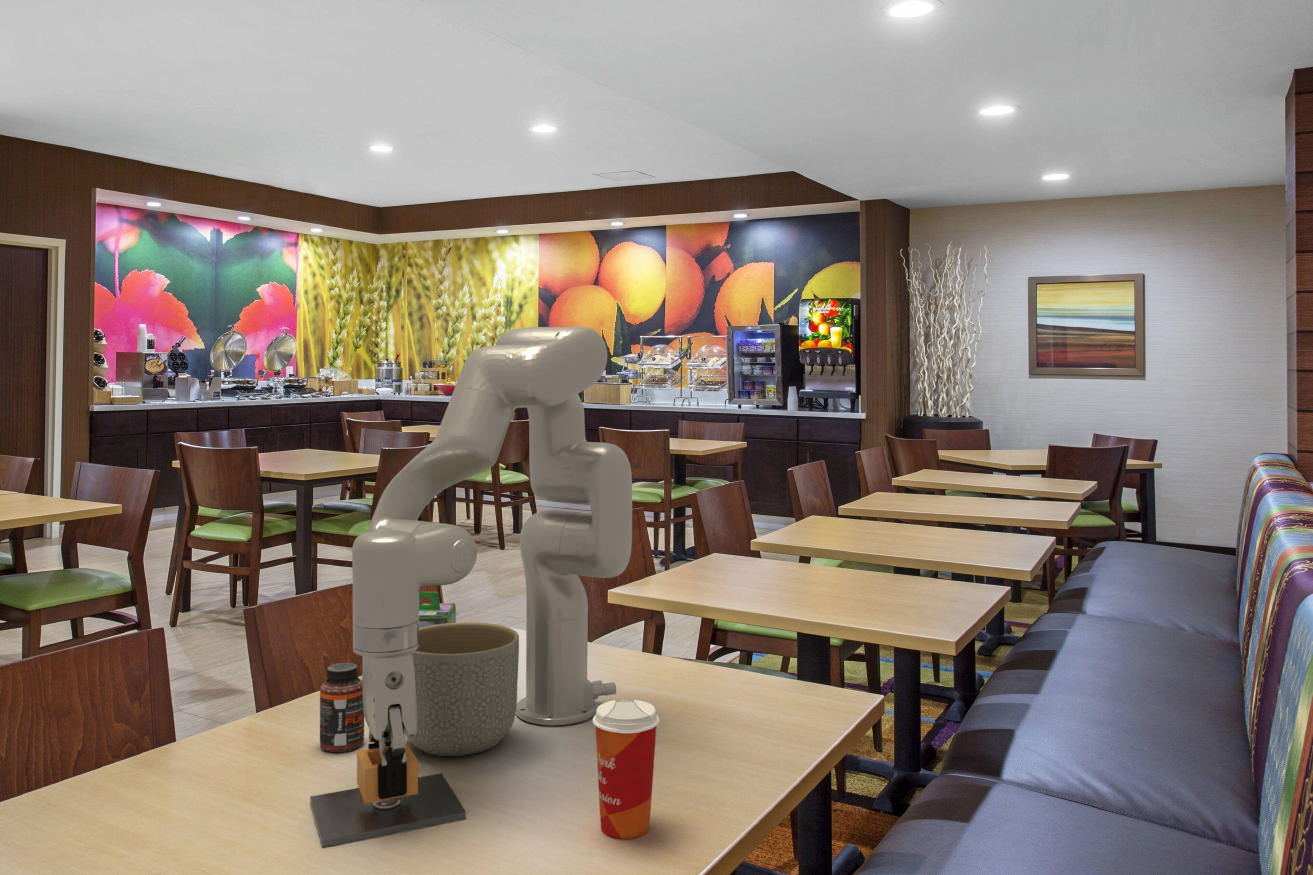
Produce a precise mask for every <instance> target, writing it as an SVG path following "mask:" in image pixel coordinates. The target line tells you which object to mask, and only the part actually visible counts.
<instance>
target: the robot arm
mask: <svg viewBox="0 0 1313 875" xmlns="http://www.w3.org/2000/svg"><path fill="white" fill-rule="evenodd" d="M607 363H608V349H607V345H606V343H605V340H604V338H603V337H602V336H601V335H600V333H599V332H598V331H596V330H595V329H593V328H590V327H586V326H557V327H556V326H537V327H536V326H535V327H534V326H532V327H519V328H514V329H510V330H507V331H504V333H502V334H501V335H500V336H499V337H498V339H497V340H496V343H495V345H486V346H482V347H479V348H476V349H474V350H473V351H472V352H471V353H469V355H467V358H466V359H465V361H464V364H463V366H462V369H461V371H460V372H459V376H458V378H457V381H456V384H455V386H454V389H453V391H452V394H451V396H450V399H449V401H448V405H447V407H446V410H445V412H444V415H443V417H442V419H441V422H440V424H439V425H440V426H439V428H438V431H437V433H436V435H435V438H434V439H433V441H432V442H431V443H430V444H429V445H428V446H426V447H425V448H424V449H423V450H421V451H420V452H419V453H417V455H415V457H413V458H412V459H411V460H410V461H409V462H408V463H407V464H406V465H405V466H403V468H402V469H401V470H400V471H399V472H398V473H397V474H396V475H395V476H394V477H393V478H392V479H391V481H390V482H389V483H388V484H387V486H386V487H385V489H384V490H383V491H382V494H381V497H380V498H379V500H378V503H377V505H376V508H375V511H374V512H373V515H372V517H371V521H370V524H369V526H368V530H367V532H364V533H362V534H360V535H358V536H357V537H356V538H355V539H354V541H353V544H352V552H351V553H352V554H351V557H352V559H351V560H352V568H351V569H352V651H353V653H354V654H356V655H359V656H362V659H361V660H362V665H361V666H362V669H361V672H362V674H361V675H362V676H361V678H362V679H361V680H362V692H363V711H364V721H365V722H366V726H367V727H368V742H369V743H368V745H367V749H374V748H380V762H381V764H378V797H379V798H380V799H386V798H392V797H397V796H402V795H405V794H406V793H407V761H406V748H405V743H406V735H405V734H404V728H405V730H406V732H407V733H408V735H411V736H415V735H416V734H417V732H418V723H417V701H416V681H415V669H414V660H413V654H412V652H413V651H415V650H417V649H418V647H419V592H420V589H421V588H423V587H435V586H447V585H452V584H456V583H457V582H459V581H461V580H463V579H464V578H465V577H467V576H468V575H469V574H470V572H472V570H473V568H474V566H475V564H476V563H477V562H476V561H477V556H478V548H477V543H476V541H475V539H474V537H473V536H472V535H471V533H469V532H468V530H466V529H464V528H462V527H460V526H458V525H455V524H449V523H441V522H440V523H439V522H433V521H424V520H419V517H420V516H421V514H422V512H423V510H424V509H425V508H426V506H427V505H428V504H429V503H430V502H431V501H432V500H433V498H435V497H436V496H437V495H439V494H440V493H442V492H443V491H444V490H445V489H448V488H450V487H452V486H454V485H456V484H458V483H461V482H463V481H466V480H467V479H469V478H472V477H474V476H476V475H479V474H480V473H483V472H486V471H487V470H489V469H491V468H492V467H493V466H495V464H496V462H497V461H498V458H499V455H500V452H501V449H502V446H503V443H504V441H505V438H506V435H507V431H508V429H509V426H510V423H511V420H512V418H513V415H514V412H515V410H517V409H518V408H520V409H521V408H526V409H527V413H528V427H529V430H528V433H529V439H528V441H529V444H528V445H529V448H528V449H529V450H528V452H529V454H528V455H529V480H530V482H529V483H530V487H531V490H532V492H533V493H534V495H535V497H537V498H539V499H541V500H543V501H545V502H546V501H547V502H552V503H562V504H570V505H571V504H574V505H585V506H586V505H587V506H589V507H590V512H581V511H572V510H559V509H558V510H557V509H556V510H555V509H550V510H542V511H538V512H536V513H534V514H532V515H531V516H529V517H528V518H527V519H526V520H525V521H524V523H523V525H522V527H521V530H520V535H519V550H520V556H521V561H522V564H523V570H524V579H525V580H524V581H525V593H526V594H525V598H526V601H525V602H526V605H525V606H526V607H525V608H526V619H525V620H526V624H525V625H526V626H525V628H526V629H525V630H526V633H525V635H526V638H525V639H526V642H525V643H526V645H525V646H526V648H525V650H526V652H525V654H526V656H525V658H526V660H525V661H526V662H525V664H526V665H525V666H526V668H525V671H526V672H525V677H526V678H525V679H526V680H525V688H526V689H525V697H523V698H522V699H520V700H519V701H517V705H516V714H515V715H517V717H518V718H519V719H521V720H522V721H525V722H527V723H530V724H534V725H535V724H536V725H542V726H566V725H572V724H573V725H574V724H578V723H581V722H585V721H587V720H590V718H593V717H594V716H595V715H596V710H597V708H598V703H597V702H596V700H597V699H598V698H599V697H602V696H605V697H607V696H612V695H613V696H614V695H616V694H617V685H616V683H615V681H612V682H605V683H603V681H602V680H601V679H600V680H595V681H590V680H589V679H588V642H589V641H588V635H589V634H588V624H589V623H588V622H589V621H588V618H589V616H588V615H589V604H588V602H589V601H588V596H587V592H586V590H585V587H584V585H583V583H582V580H581V579H580V576H581V577H582V576H583V577H592V578H603V579H610V578H615V577H618V576H620V575H621V574H623V572H624V571H625V570H626V568H627V567H628V564H629V562H630V558H631V556H632V554H631V553H632V544H633V478H632V477H633V476H632V473H633V472H632V468H631V463H630V461H629V458H628V456H627V454H626V452H625V451H624V450H623V449H622V448H620V447H619V446H617V445H616V444H613V443H608V442H597V441H595V442H593V441H587V439H586V428H585V426H586V425H585V408H584V404H583V401H582V399H581V397H580V395H579V394H581V393H582V392H583V391H585V390H588V389H589V388H591V387H592V386H594V384H596V383H597V382H598V381H599V380H600V378H601V377H602V375H603V374H604V371H605V369H606V366H607ZM387 746H391V747H388V749H387V750H386V747H387Z"/></svg>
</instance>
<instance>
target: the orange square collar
mask: <svg viewBox="0 0 1313 875" xmlns="http://www.w3.org/2000/svg"><path fill="white" fill-rule="evenodd" d="M388 747H391V746H387V747H386V750H387V749H388ZM405 748H406V761H407V793H406V794H405V795H402V796H397V797H392V798H386V799H380V798H379V797H378V764H379V763H380V748H374V749H368V748H367V749H360V750H357V751H356V784H357V788H359V789H360V792H361V794H362V797H363V799H364V802H365V804H366V803H371V802H377V801H382V800H388V799H393V798H398V797H404V796H409V795H414V794H418V776H419V772H418V771H419V770H418V769H419V767H418V765H419V762H418V759H417V757H416V756H415V753H414V752H413V750H412V748H411V746H410V745H409V744H408V742H405Z"/></svg>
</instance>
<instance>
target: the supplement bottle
mask: <svg viewBox="0 0 1313 875" xmlns="http://www.w3.org/2000/svg"><path fill="white" fill-rule="evenodd" d="M326 669H327V670H326V672H327V673H326V676H327V679H325V681H324V682H322V684H321V686H320V688H319V746H320V748H321V749H323V750H325V751H326V752H333V753H345V752H348V751H353V750H355V749H358V748H359V747H361V746H362V745H363V744H364V741H365V717H364V711H363V692H362V679H360V677H358V665H357V664H356V663H351V662H341V663H335V664H331V665H329V666H328V667H327V668H326Z"/></svg>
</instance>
